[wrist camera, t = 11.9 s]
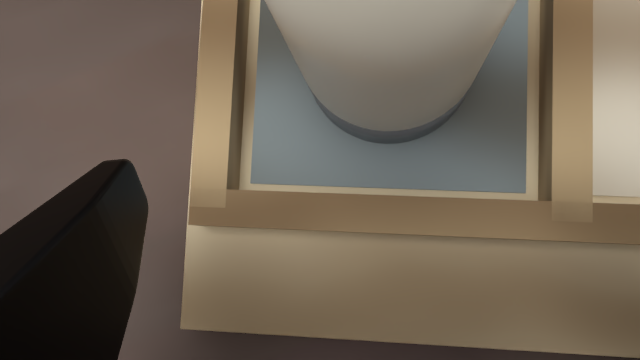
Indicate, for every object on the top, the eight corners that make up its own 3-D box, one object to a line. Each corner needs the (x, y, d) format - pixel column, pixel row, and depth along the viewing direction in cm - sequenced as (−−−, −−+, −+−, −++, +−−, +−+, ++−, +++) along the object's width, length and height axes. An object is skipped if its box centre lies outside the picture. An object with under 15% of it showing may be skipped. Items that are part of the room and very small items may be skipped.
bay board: (952, 372, 16) (1048, 393, 14) (191, 323, 18) (162, 336, 16) (924, -124, 17) (1009, -181, 15) (218, -110, 20) (196, -157, 17)
